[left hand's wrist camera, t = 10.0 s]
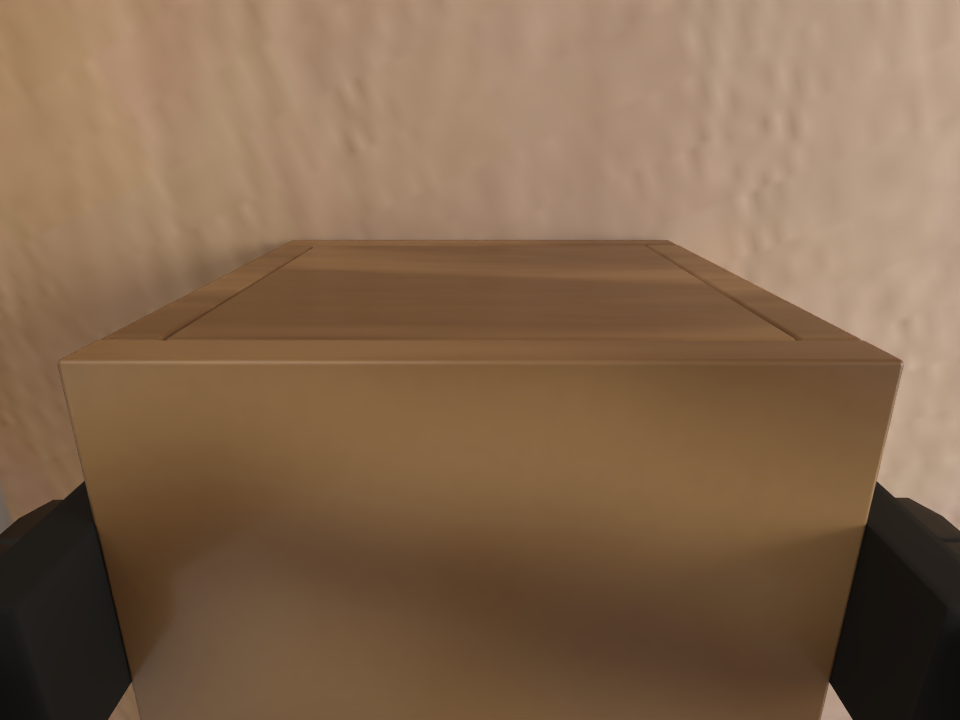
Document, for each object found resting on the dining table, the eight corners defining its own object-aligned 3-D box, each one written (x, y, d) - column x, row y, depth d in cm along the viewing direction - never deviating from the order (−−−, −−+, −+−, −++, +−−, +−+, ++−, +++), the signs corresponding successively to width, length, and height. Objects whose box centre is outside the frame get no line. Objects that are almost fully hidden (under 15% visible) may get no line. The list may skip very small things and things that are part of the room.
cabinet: (619, 757, 23) (714, 1179, 14) (341, 757, 23) (246, 1177, 14) (670, 239, 17) (907, 360, 8) (290, 240, 17) (53, 360, 8)
